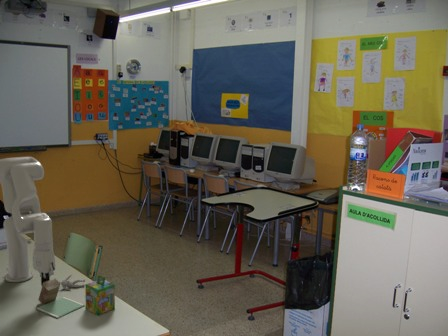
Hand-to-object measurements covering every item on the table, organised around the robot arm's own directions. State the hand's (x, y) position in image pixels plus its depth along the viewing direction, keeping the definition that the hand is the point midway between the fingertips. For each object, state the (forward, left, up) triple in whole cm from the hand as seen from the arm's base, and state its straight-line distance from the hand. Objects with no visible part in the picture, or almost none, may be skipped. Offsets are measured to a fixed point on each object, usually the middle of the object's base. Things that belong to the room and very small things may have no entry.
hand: (45, 285), depth 208 cm
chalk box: (+25, +9, -8) cm, 27 cm away
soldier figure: (-3, +17, -8) cm, 19 cm away
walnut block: (0, 0, -7) cm, 7 cm away
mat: (+10, 0, -8) cm, 12 cm away
